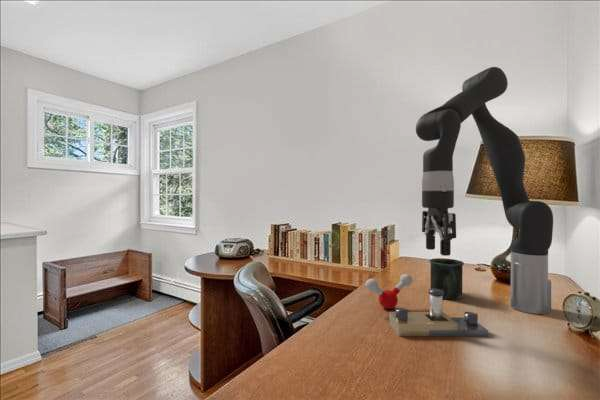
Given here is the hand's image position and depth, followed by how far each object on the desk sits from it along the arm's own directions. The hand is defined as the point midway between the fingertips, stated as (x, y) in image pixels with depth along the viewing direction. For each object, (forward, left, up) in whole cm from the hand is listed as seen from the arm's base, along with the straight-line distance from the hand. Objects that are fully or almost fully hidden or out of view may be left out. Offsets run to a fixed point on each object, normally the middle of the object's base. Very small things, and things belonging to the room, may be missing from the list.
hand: (437, 252), depth 80 cm
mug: (-17, -29, -20) cm, 39 cm away
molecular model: (+8, -15, -20) cm, 26 cm away
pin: (0, 0, -20) cm, 20 cm away
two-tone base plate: (0, 0, -20) cm, 20 cm away
